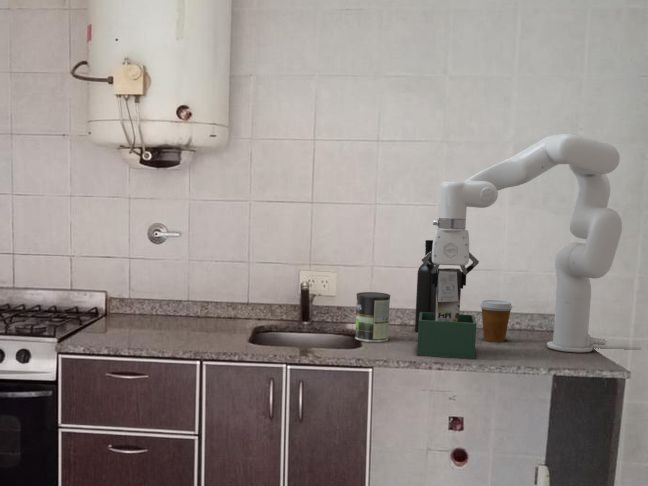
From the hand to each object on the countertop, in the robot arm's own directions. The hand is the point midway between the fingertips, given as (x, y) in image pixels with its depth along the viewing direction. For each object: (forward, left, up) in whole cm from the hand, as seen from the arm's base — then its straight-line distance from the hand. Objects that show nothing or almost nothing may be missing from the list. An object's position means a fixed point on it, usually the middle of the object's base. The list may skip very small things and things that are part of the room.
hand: (448, 287), depth 233 cm
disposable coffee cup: (-15, -24, -19) cm, 34 cm away
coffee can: (+22, -12, -19) cm, 31 cm away
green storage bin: (0, 0, -19) cm, 19 cm away
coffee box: (0, 0, -11) cm, 11 cm away
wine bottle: (+6, -32, -19) cm, 38 cm away
